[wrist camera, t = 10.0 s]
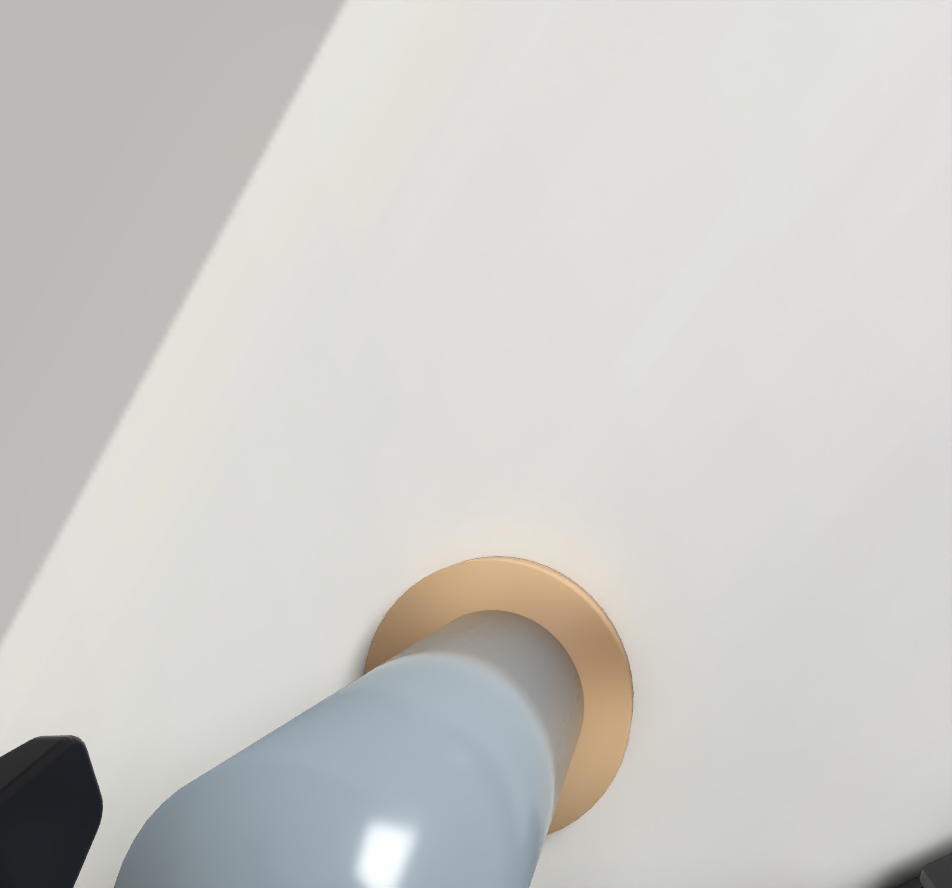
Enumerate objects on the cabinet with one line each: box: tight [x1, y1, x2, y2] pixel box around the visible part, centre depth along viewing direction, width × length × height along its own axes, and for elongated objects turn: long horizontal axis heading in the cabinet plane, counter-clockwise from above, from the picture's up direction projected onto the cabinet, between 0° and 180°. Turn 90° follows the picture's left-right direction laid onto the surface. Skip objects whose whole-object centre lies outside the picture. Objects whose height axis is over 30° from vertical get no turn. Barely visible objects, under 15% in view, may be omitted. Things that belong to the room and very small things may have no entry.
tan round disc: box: [364, 556, 633, 835], centre depth 19 cm, size 7×7×1 cm
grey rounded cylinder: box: [114, 610, 584, 888], centre depth 13 cm, size 4×4×11 cm
